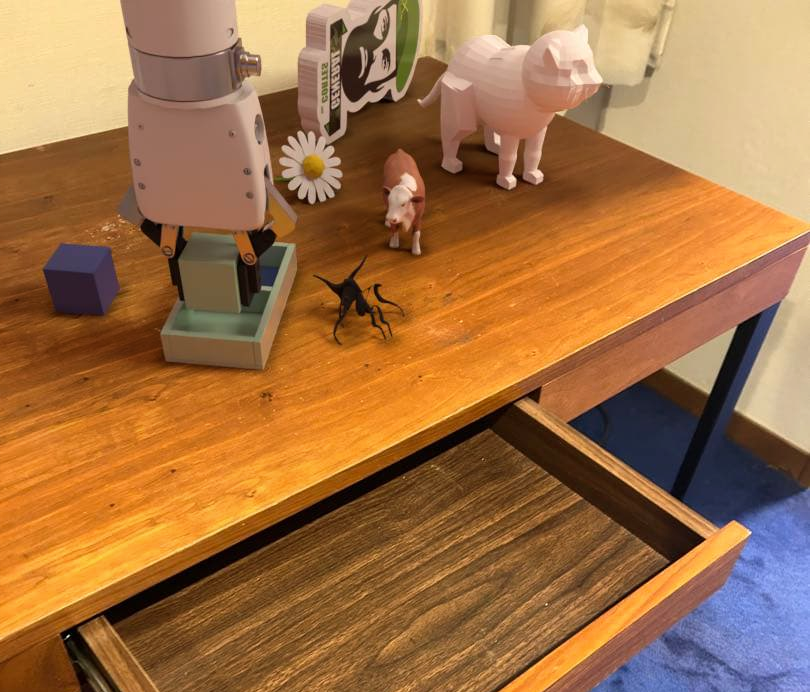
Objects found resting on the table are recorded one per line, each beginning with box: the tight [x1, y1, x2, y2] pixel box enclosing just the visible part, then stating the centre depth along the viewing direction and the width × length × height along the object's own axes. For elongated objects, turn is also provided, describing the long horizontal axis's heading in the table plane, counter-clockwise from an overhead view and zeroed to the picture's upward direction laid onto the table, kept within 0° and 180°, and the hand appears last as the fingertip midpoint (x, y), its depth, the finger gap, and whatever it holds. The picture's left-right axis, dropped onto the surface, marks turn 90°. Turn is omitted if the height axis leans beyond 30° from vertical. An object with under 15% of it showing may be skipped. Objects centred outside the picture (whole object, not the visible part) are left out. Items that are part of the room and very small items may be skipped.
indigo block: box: [42, 242, 121, 317], centre depth 78 cm, size 5×5×5 cm
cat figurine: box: [416, 23, 609, 191], centre depth 95 cm, size 25×10×17 cm, turn 47°
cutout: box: [296, 0, 424, 146], centre depth 106 cm, size 15×3×25 cm
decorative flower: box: [273, 130, 343, 205], centre depth 95 cm, size 8×6×15 cm
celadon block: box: [178, 231, 243, 314], centre depth 72 cm, size 5×5×5 cm
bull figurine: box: [381, 148, 426, 256], centre depth 87 cm, size 4×13×8 cm, turn 0°
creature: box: [312, 253, 405, 346], centre depth 77 cm, size 8×5×8 cm
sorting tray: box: [159, 241, 298, 371], centre depth 79 cm, size 9×16×3 cm, turn 175°
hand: (218, 293), depth 74 cm, fingers closed on celadon block, 4 cm apart
